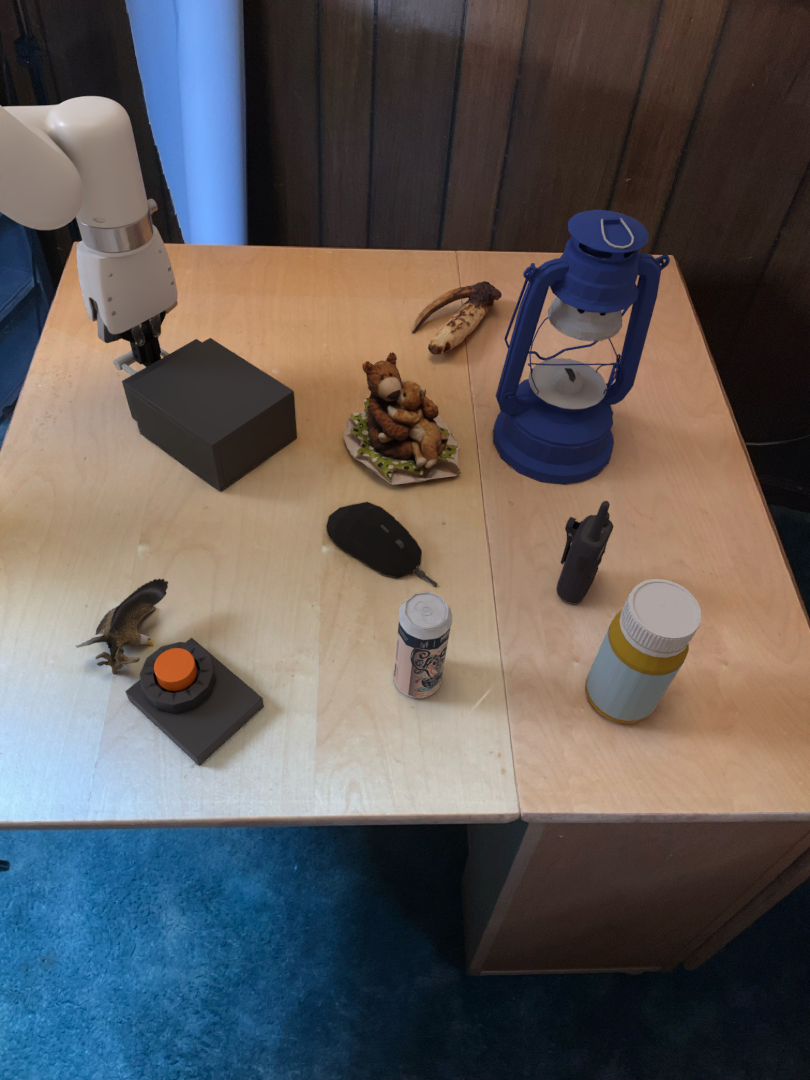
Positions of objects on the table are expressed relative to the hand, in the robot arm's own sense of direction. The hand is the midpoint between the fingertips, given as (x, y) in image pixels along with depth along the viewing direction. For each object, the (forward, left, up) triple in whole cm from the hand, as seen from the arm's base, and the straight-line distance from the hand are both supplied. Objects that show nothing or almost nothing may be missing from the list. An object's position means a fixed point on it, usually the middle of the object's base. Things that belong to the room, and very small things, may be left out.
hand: (149, 362), depth 101 cm
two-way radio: (+57, +10, -5) cm, 58 cm away
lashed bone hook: (+19, +38, -5) cm, 43 cm away
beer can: (+52, -10, -5) cm, 53 cm away
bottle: (+68, +2, -5) cm, 69 cm away
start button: (+36, -26, -1) cm, 45 cm away
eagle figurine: (+28, -26, -5) cm, 38 cm away
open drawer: (+7, 0, -3) cm, 8 cm away
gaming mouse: (+39, 0, -5) cm, 40 cm away
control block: (+38, -26, -4) cm, 47 cm away
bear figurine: (+30, +14, -5) cm, 34 cm away
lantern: (+43, +28, -5) cm, 52 cm away
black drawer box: (+12, 0, -4) cm, 13 cm away
